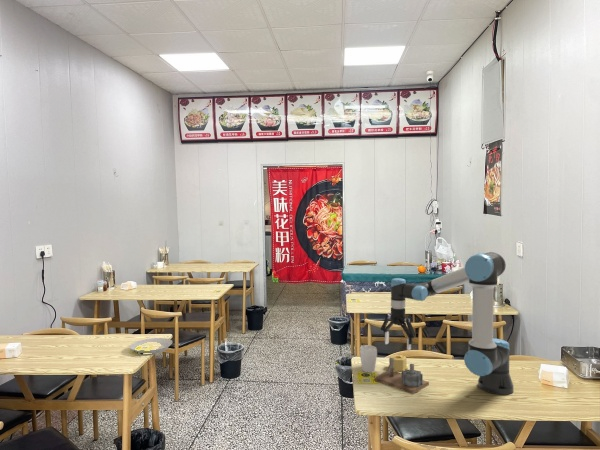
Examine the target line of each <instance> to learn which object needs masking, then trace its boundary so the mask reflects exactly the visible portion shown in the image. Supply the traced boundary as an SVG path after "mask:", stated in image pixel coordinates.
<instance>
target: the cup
mask: <svg viewBox="0 0 600 450" xmlns="http://www.w3.org/2000/svg"><path fill="white" fill-rule="evenodd" d="M359 357H360V362H361V363H360V365H361V370H362V372H365V373H374V372H375V371H376V365H377V364H376V363H377V357H378V349H377V346H375V345H370V344H364V345H360V347H359Z"/></svg>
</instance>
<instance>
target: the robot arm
mask: <svg viewBox="0 0 600 450" xmlns="http://www.w3.org/2000/svg"><path fill="white" fill-rule="evenodd" d="M506 265H507V264H506V261H505V259H504V257H503V256H502V255H500V254H499V253H498V252H492V251H490V252H482V253H475V254H473V255H472V256H469V258H468V259H467V260H466V261H465V264H464V267H462V268H460V269H457V270H454V271H452V272H449V273H447V274H444V275H442V276H439V277H437V278H434V279H431V280H428V281H426V282H421V283H416V284H410V283H406V282H407V281H406V279H404V278H400V277H397V278H396V277H395V278H392V279H391V281H390V282H391V284H390V293H391V294H390V295H391V296H390V313H388V314H385V319H384V320H383V323H382V325H381V327H380V330H381V331H383V338H384V345H388V344H389V343H390V332H389V330H390V329H391V327H393V325H396V326H399V327H401V328H402V329H403V331H404V333H405V334H406V336H407V338H406V351H410V350H412V344H413V339H414V338H416V337H417V335H416V332H415V330H414V327H413V325H412V323H411V321H412V320H411V318H410V317H408V318H407V317H406V299H408V300H409V299H410V300H414V301H419V302H420V301H421V302H423V301H425V300H426V299H427V298H428V297H433V296H435V295H437V294H440V293H442V292H445V291H448V290H451V289H454V288H457V287H460V286H462V285H466V284H470V286H471V287H472V308H471V309H472V310H471V311H472V312H471V313H472V314H471V315H472V320H471V321H472V322H471V323H472V327H471V328H472V330H471V331H472V332H471V333H472V334H471V335H472V336H471V339H470V340H468V351H466V353H465V355H464V357H463V362H464V365H465V366H466V369H467V370H468V371H470V373H472V374H473V375H475V376H478V380H477V386H478V388H480V389H481V390H482V391H485V392H487V393H491V394H494V395H495V394H496V395H510V394H513V393H514V384H513V381H512V378H511V375H510V350H511V348H510V343H509V342H508V341H506V340H504V339H500V338H496V337H495V338H494V292H495V291H494V290H495V287H497V286H498V277H499V276H501V275H503V274H504V272H505V270H506ZM390 320H391V321H390ZM389 321H390V322H389Z"/></svg>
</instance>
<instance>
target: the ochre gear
mask: <svg viewBox="0 0 600 450" xmlns="http://www.w3.org/2000/svg"><path fill="white" fill-rule="evenodd" d="M389 358H393V371H394V370H395V371H396V372H402V371H405V369H407V370H409V367H407V366H408V365H407V357H406V356H405V355H401V354H393V355H389Z"/></svg>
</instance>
